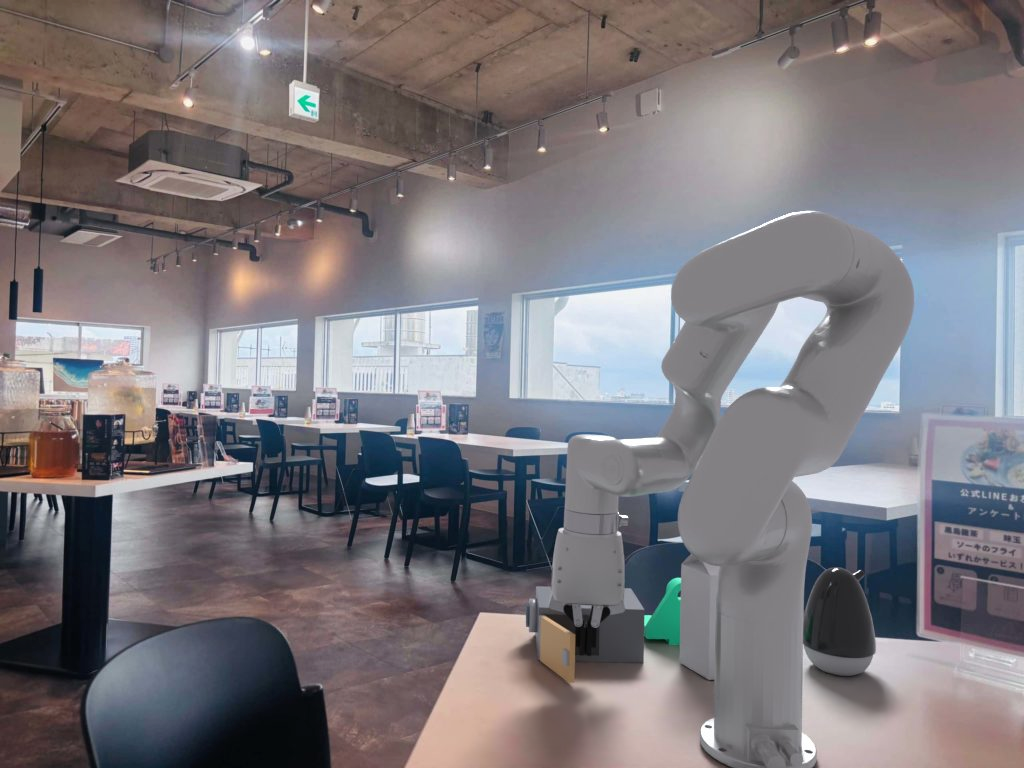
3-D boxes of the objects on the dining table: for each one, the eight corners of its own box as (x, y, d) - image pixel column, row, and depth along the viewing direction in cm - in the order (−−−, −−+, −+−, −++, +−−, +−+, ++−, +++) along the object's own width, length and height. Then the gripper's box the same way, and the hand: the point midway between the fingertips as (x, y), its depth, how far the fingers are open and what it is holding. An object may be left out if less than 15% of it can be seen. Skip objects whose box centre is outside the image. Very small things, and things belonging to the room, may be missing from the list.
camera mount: (705, 631, 123) (706, 571, 123) (719, 646, 115) (720, 583, 115) (637, 630, 122) (638, 570, 123) (646, 645, 115) (647, 582, 115)
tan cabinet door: (566, 683, 97) (567, 635, 97) (535, 659, 106) (535, 615, 106) (575, 682, 97) (575, 634, 97) (542, 657, 106) (543, 614, 106)
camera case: (643, 663, 106) (644, 605, 106) (526, 660, 106) (527, 602, 106) (630, 636, 118) (630, 584, 119) (524, 633, 118) (526, 581, 119)
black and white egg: (892, 676, 103) (893, 572, 103) (842, 687, 99) (843, 578, 99) (833, 653, 112) (834, 557, 113) (785, 662, 108) (787, 562, 108)
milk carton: (749, 675, 102) (750, 544, 103) (708, 681, 100) (710, 547, 100) (717, 658, 109) (719, 535, 110) (679, 663, 106) (681, 537, 107)
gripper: (639, 520, 103) (633, 645, 103) (537, 514, 103) (531, 639, 103) (648, 530, 95) (641, 665, 95) (538, 525, 96) (531, 659, 96)
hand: (584, 651), depth 99 cm, fingers closed
